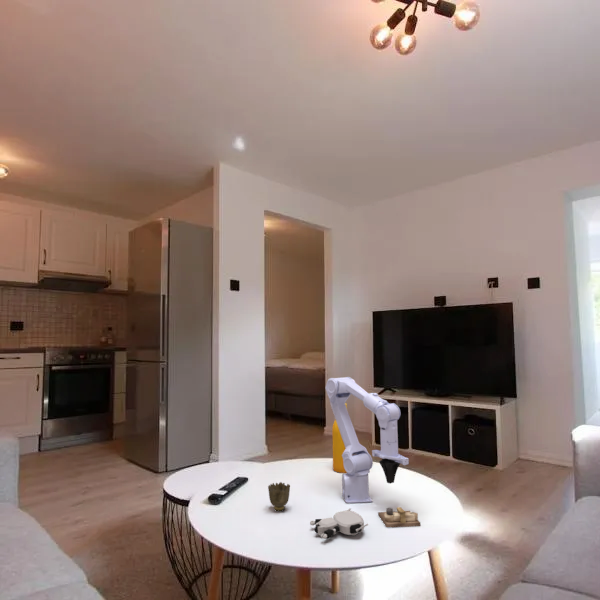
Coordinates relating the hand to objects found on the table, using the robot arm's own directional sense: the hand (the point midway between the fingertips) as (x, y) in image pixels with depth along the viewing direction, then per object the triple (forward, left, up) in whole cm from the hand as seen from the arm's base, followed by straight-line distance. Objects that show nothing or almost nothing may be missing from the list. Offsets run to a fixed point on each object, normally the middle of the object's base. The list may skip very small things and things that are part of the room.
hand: (390, 482), depth 142 cm
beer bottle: (-7, +48, -10) cm, 49 cm away
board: (0, -7, -9) cm, 12 cm away
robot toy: (-20, -13, -10) cm, 26 cm away
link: (0, -9, -8) cm, 12 cm away
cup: (-37, +6, -10) cm, 39 cm away
